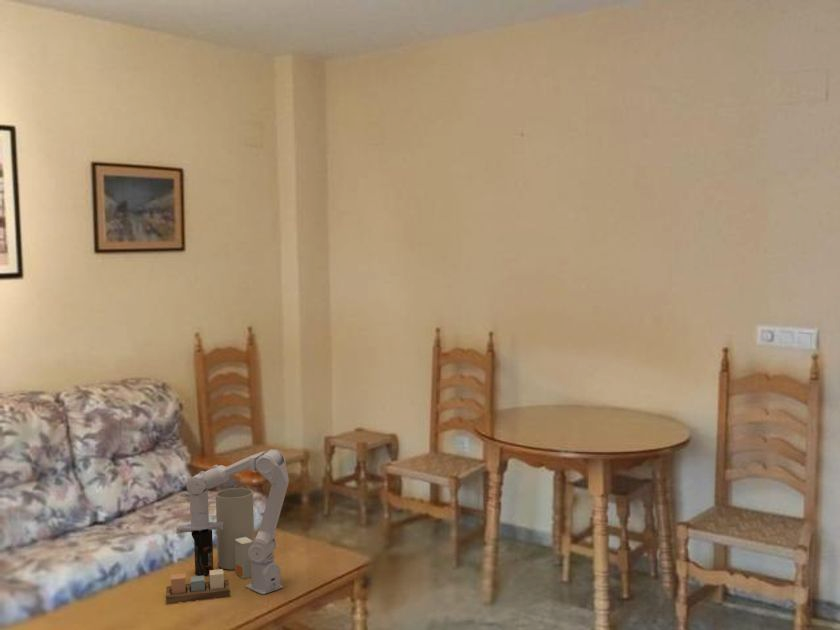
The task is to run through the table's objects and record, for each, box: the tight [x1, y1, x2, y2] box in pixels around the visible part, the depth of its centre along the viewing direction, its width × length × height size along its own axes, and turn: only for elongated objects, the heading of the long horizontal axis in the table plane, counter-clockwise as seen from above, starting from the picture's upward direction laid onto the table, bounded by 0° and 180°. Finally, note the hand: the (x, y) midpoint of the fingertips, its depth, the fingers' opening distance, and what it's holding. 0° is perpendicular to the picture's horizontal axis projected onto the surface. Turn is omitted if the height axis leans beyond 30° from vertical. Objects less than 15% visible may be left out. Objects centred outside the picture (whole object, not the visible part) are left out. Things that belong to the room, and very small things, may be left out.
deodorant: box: [193, 530, 214, 577], centre depth 277 cm, size 6×6×15 cm
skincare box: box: [234, 537, 253, 580], centre depth 274 cm, size 6×4×12 cm
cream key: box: [208, 568, 225, 590], centre depth 260 cm, size 4×4×5 cm
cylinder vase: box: [215, 487, 255, 571], centre depth 285 cm, size 12×12×25 cm
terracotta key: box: [170, 573, 187, 594], centre depth 257 cm, size 4×4×5 cm
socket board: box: [165, 579, 231, 605], centre depth 259 cm, size 9×19×2 cm, turn 106°
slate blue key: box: [190, 575, 206, 592], centre depth 258 cm, size 4×4×5 cm
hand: (200, 552), depth 267 cm, fingers closed
